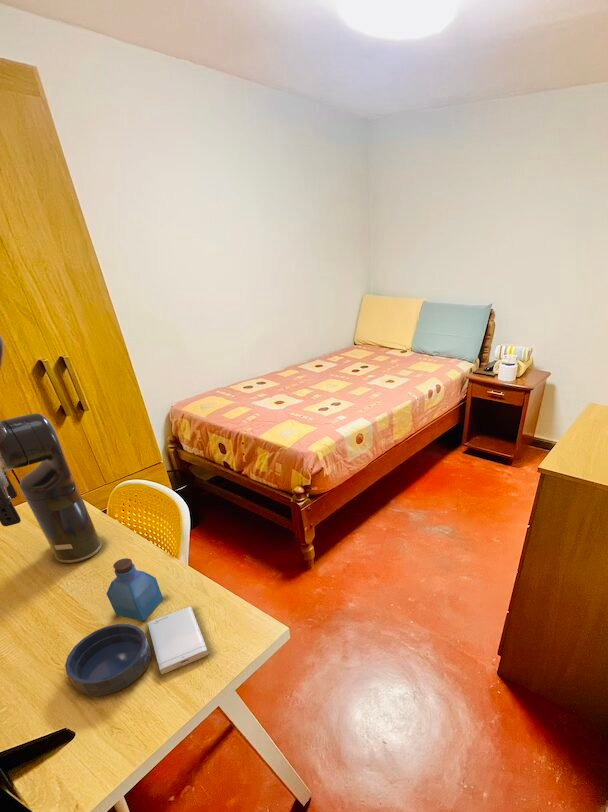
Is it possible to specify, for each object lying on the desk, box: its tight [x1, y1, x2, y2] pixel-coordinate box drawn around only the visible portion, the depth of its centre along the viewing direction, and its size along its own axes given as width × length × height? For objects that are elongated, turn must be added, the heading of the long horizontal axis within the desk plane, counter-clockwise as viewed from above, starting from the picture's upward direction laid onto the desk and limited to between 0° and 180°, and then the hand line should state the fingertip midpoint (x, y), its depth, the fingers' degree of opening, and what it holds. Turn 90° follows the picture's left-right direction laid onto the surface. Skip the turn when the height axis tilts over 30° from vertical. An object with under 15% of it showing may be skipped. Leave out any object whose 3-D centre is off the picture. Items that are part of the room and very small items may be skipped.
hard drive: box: [147, 606, 209, 675], centre depth 80 cm, size 2×8×12 cm
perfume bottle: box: [106, 557, 164, 622], centre depth 84 cm, size 6×6×12 cm
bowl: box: [64, 623, 152, 697], centre depth 75 cm, size 12×12×4 cm
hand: (11, 510), depth 66 cm, fingers open, 8 cm apart
